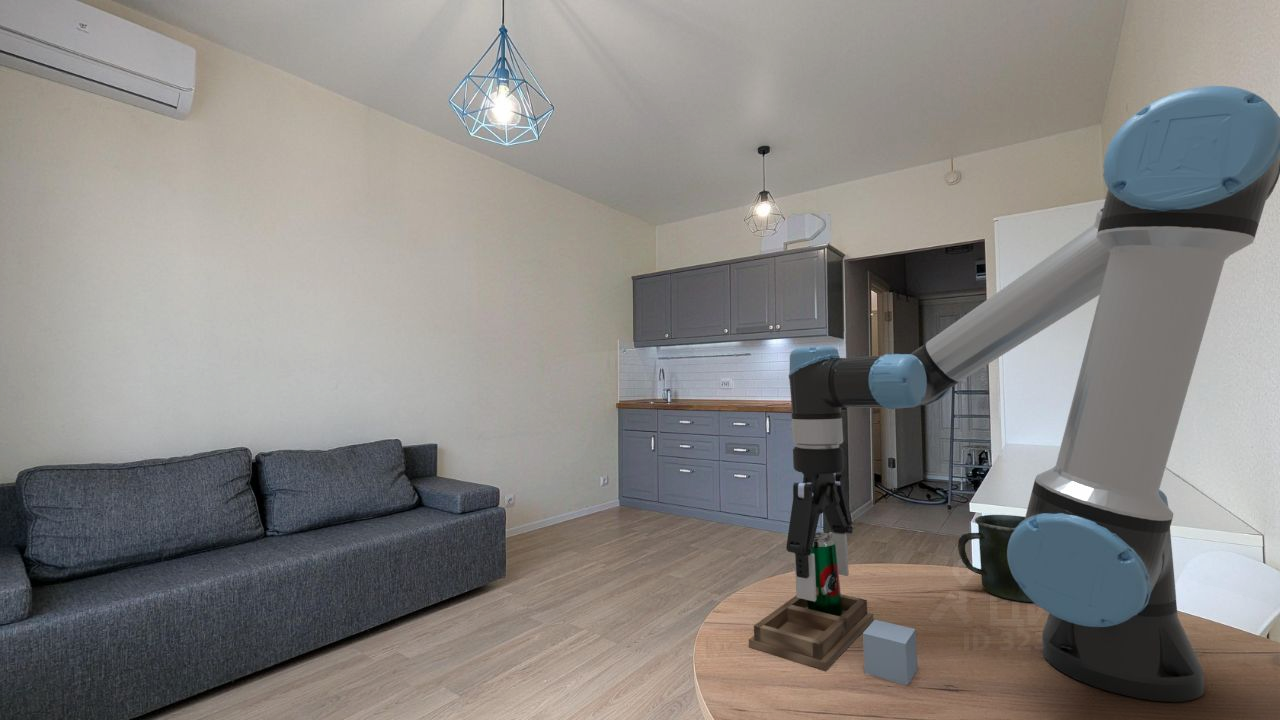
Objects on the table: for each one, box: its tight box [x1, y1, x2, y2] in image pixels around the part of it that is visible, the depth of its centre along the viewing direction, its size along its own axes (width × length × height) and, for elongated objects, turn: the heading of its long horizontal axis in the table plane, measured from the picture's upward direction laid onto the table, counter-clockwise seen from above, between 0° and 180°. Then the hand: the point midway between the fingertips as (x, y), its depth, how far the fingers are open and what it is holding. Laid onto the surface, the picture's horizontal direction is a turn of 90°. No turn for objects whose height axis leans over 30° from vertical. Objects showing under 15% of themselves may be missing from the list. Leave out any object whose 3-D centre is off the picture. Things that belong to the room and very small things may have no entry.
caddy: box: [748, 593, 874, 672], centre depth 81 cm, size 11×19×3 cm, turn 140°
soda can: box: [807, 531, 843, 616], centre depth 84 cm, size 5×5×12 cm
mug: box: [957, 514, 1034, 603], centre depth 94 cm, size 11×15×12 cm
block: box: [862, 619, 919, 687], centre depth 69 cm, size 5×5×5 cm
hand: (824, 585), depth 84 cm, fingers open, 12 cm apart
